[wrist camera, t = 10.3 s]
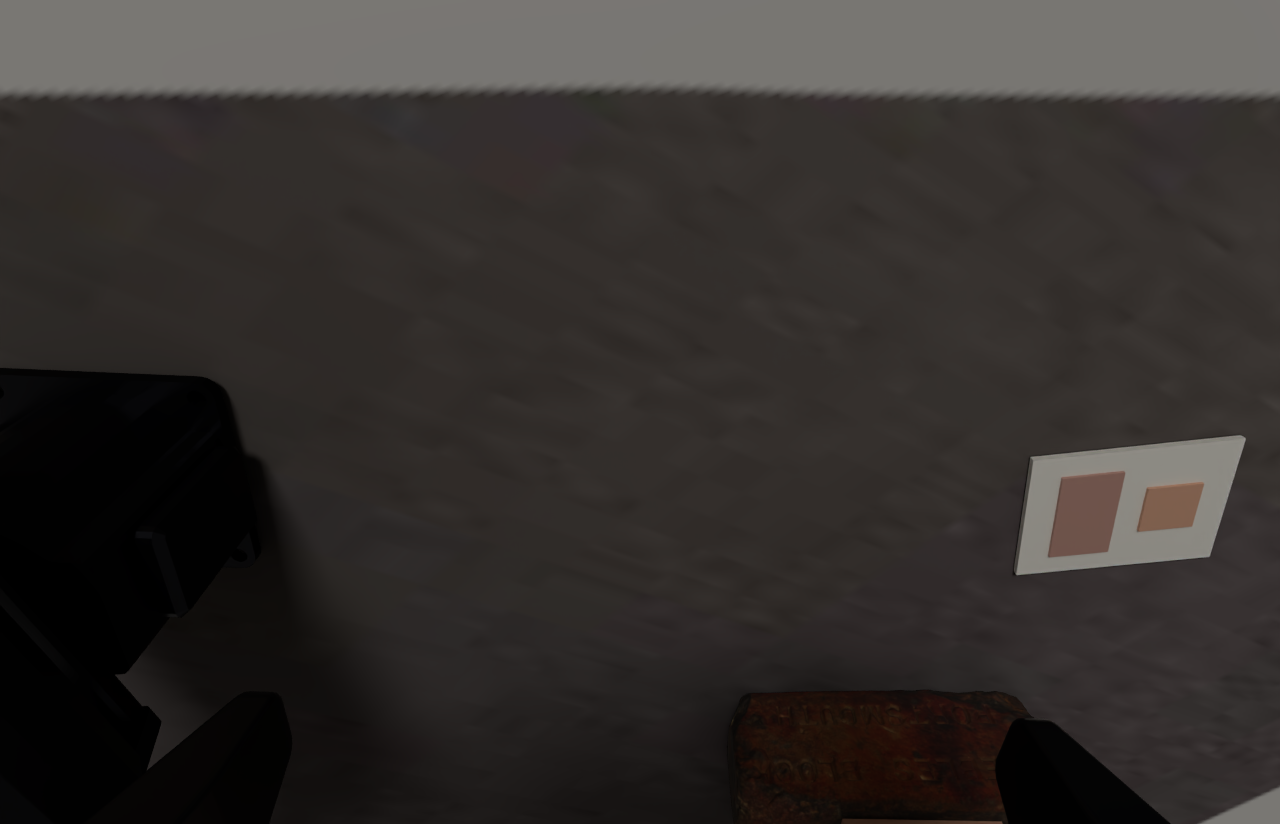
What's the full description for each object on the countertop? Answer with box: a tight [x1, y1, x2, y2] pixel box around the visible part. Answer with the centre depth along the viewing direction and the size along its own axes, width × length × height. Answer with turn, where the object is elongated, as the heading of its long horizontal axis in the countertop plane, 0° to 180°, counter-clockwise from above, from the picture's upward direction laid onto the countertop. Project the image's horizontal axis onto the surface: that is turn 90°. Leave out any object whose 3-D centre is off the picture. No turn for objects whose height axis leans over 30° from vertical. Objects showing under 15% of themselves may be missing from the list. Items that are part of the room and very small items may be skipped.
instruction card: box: [1014, 435, 1246, 575], centre depth 23 cm, size 6×4×1 cm
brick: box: [727, 690, 1034, 824], centre depth 26 cm, size 11×4×5 cm, turn 92°
